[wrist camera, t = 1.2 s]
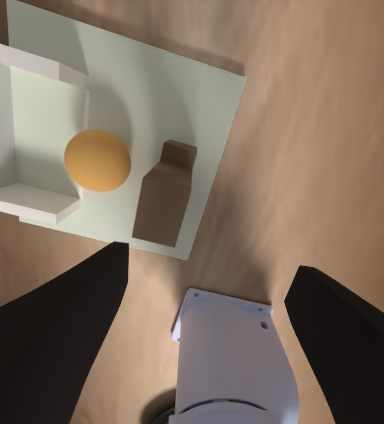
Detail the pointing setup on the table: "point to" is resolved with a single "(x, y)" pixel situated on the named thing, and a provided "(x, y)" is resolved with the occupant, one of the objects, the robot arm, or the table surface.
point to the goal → (5, 141)
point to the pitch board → (115, 119)
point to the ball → (97, 160)
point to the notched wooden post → (165, 195)
